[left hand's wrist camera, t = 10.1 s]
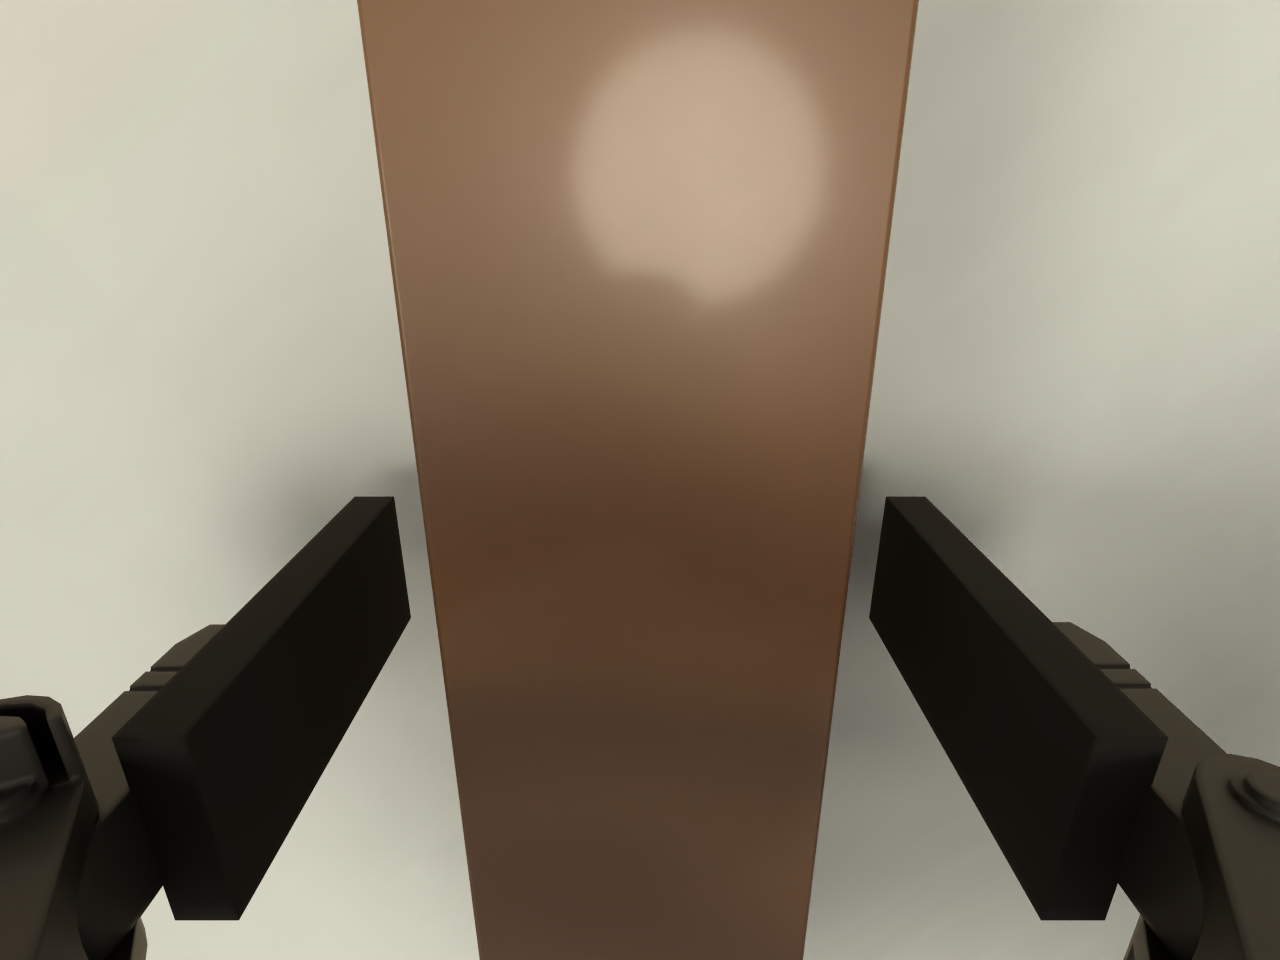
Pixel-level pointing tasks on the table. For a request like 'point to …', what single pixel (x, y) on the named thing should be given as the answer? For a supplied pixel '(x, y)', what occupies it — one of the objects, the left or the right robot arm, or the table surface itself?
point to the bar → (639, 436)
